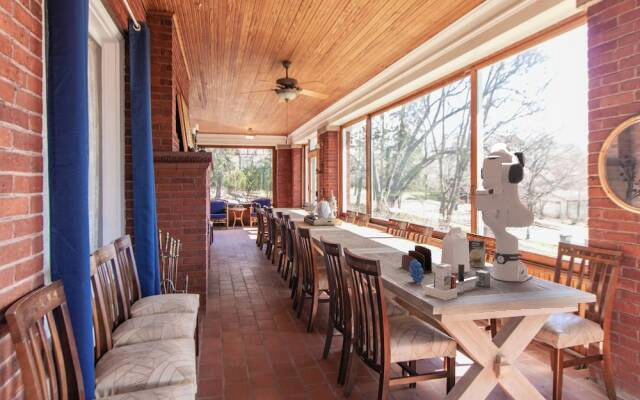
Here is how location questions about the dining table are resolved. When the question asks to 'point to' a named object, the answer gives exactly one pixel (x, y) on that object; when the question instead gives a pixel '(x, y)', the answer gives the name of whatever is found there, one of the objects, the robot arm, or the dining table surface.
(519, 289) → the dining table surface
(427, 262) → the letter holder
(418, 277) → the grapes
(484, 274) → the grey hollow block
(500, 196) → the robot arm
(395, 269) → the dining table surface
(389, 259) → the dining table surface
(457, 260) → the milk
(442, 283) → the syrup box
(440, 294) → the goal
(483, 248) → the coffee box
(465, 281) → the linear slider rail
